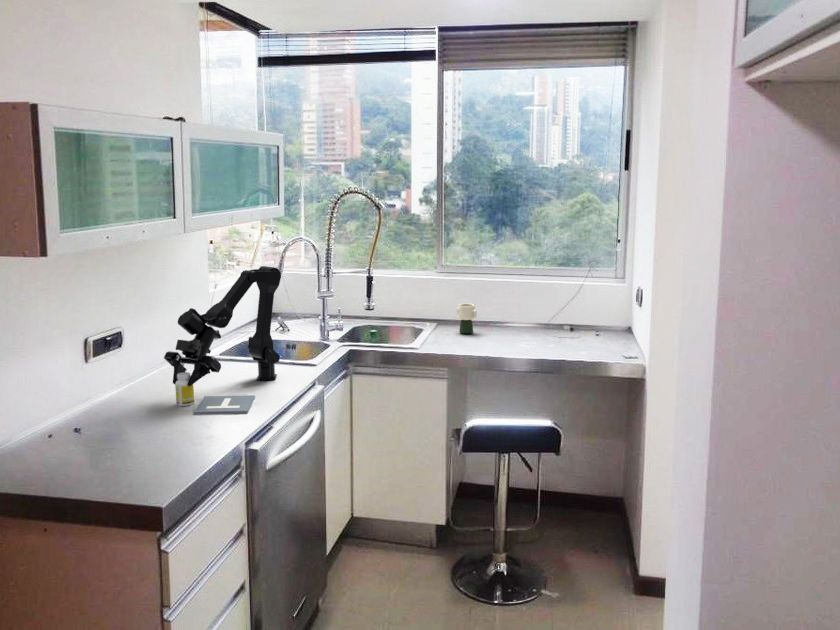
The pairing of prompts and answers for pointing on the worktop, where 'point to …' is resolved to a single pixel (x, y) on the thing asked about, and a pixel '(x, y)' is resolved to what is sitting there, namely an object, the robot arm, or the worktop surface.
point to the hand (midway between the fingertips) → (181, 384)
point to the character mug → (466, 317)
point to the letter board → (225, 404)
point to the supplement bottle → (184, 390)
